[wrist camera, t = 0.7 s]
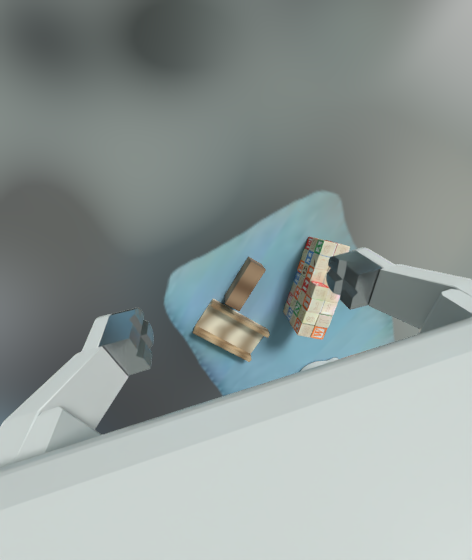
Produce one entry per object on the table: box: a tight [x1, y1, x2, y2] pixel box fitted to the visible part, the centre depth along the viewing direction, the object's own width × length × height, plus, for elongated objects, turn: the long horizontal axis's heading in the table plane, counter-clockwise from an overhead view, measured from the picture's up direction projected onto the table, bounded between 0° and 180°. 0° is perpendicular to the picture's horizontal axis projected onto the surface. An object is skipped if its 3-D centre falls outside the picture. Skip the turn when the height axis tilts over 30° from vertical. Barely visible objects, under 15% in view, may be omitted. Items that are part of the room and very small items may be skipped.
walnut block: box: [225, 257, 266, 311], centre depth 52 cm, size 12×4×6 cm, turn 149°
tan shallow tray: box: [193, 299, 270, 362], centre depth 58 cm, size 18×10×3 cm, turn 57°
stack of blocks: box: [283, 237, 350, 339], centre depth 50 cm, size 21×6×12 cm, turn 167°
